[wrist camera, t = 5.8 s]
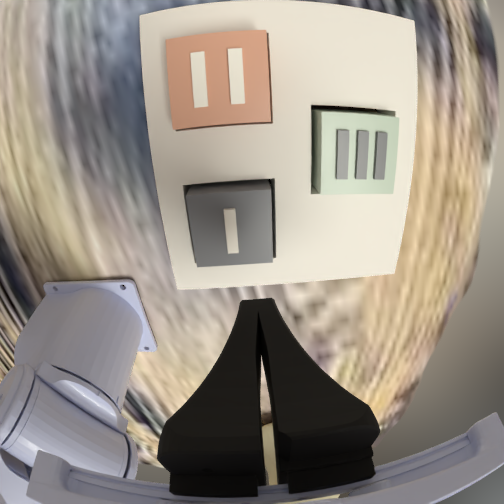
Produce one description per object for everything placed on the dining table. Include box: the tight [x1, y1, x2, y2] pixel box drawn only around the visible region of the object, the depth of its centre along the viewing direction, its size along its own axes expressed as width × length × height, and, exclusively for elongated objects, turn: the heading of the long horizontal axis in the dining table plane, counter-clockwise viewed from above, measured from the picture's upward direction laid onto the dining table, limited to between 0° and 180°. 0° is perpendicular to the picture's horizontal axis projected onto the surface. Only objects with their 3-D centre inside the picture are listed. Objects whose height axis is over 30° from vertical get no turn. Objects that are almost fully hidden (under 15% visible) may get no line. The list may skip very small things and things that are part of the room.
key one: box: [186, 179, 273, 267], centre depth 17 cm, size 4×4×3 cm
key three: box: [311, 109, 399, 195], centre depth 15 cm, size 4×4×3 cm
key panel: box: [140, 0, 417, 290], centre depth 16 cm, size 15×17×2 cm
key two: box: [166, 30, 271, 130], centre depth 12 cm, size 4×4×3 cm
